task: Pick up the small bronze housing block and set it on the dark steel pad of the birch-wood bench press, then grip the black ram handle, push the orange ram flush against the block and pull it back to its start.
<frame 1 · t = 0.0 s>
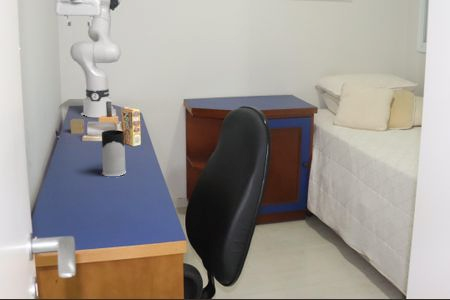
hand: (79, 26, 246), 48 cm above the table, fingers open, 8 cm apart
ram: (108, 115, 250), point 8 cm above the table, slide at 0.0 cm
glass holder: (113, 172, 192), on the table
press bed: (106, 134, 246), on the table
housing: (77, 132, 249), on the table
candy box: (131, 144, 230), on the table
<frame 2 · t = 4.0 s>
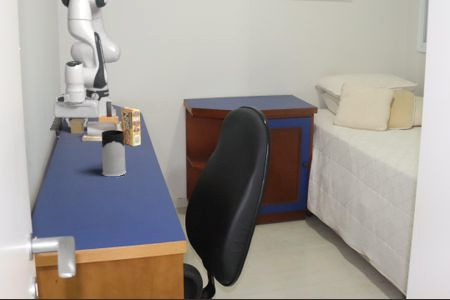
hand: (77, 126, 249), 3 cm above the table, fingers closed on housing, 5 cm apart
housing: (77, 132, 249), on the table, touching gripper
everything else where it was.
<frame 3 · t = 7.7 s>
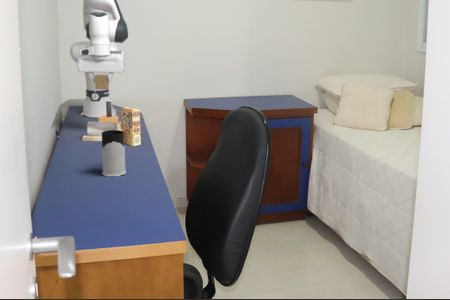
hand: (101, 82, 236), 24 cm above the table, fingers closed on housing, 5 cm apart
housing: (102, 88, 236), point 22 cm above the table, touching gripper
everything else where it was.
when the fingers open (6 cm above the table, at t = 11.7 s): housing drops 1 cm, resting on press bed.
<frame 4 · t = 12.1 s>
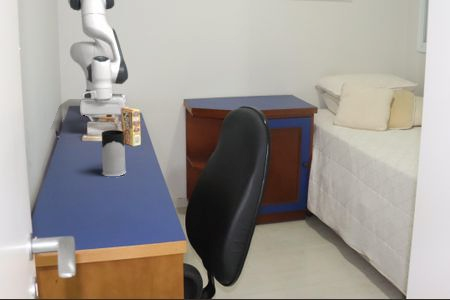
hand: (104, 124, 241), 6 cm above the table, fingers open, 8 cm apart
housing: (104, 133, 242), point 2 cm above the table, touching press bed
everything else where it was.
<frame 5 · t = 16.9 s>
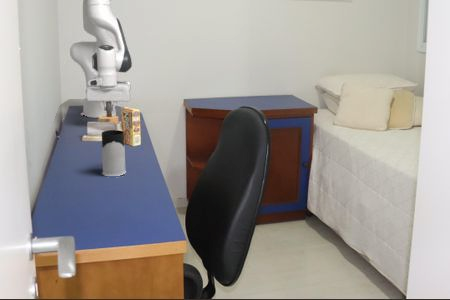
hand: (109, 110, 251), 10 cm above the table, fingers closed on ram, 2 cm apart
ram: (108, 115, 250), point 8 cm above the table, slide at 0.0 cm, touching gripper
everything else where it was.
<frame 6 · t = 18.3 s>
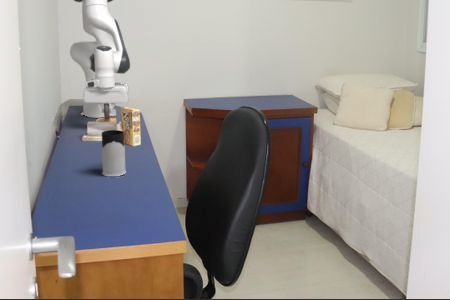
hand: (106, 112, 246), 10 cm above the table, fingers closed on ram, 2 cm apart
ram: (106, 117, 245), point 8 cm above the table, slide at 5.3 cm, touching gripper, housing
housing: (104, 133, 242), point 2 cm above the table, touching press bed, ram
everything else where it was.
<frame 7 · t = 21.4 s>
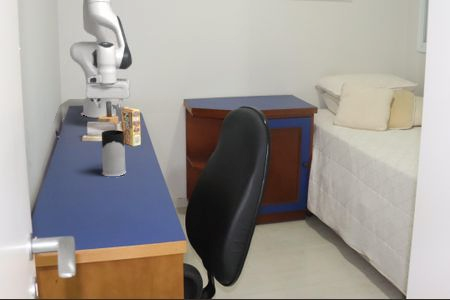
hand: (108, 107, 251), 11 cm above the table, fingers open, 8 cm apart
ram: (108, 115, 250), point 8 cm above the table, slide at 0.0 cm
housing: (104, 133, 242), point 2 cm above the table, touching press bed
everything else where it was.
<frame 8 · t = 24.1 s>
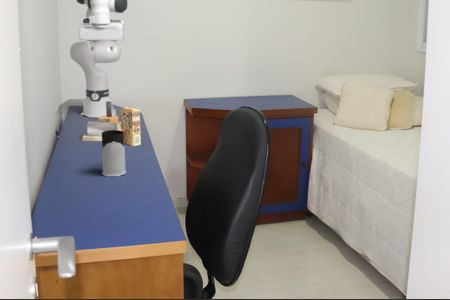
hand: (102, 50, 248), 37 cm above the table, fingers open, 8 cm apart
nothing on the table moved.
at the end: housing 0.5 cm from the target spot on the press bed, point 1.6 cm above the press bed's base; housing tilted 0°; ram slide at 0.0 cm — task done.
